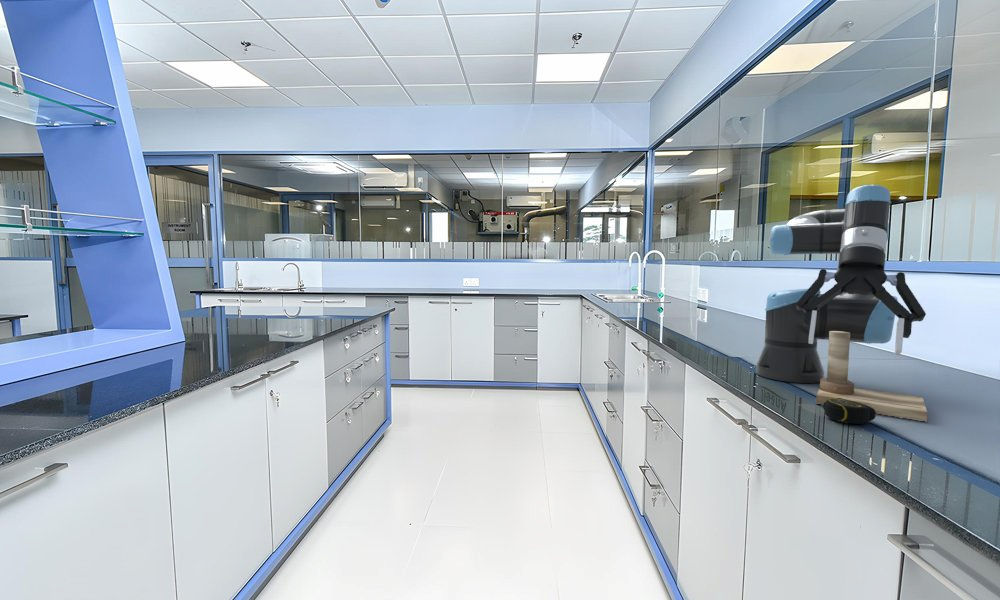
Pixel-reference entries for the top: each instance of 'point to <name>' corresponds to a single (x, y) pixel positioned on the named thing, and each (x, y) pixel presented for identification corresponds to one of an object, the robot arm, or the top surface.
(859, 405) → the tape measure
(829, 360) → the wooden peg with base
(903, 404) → the board
